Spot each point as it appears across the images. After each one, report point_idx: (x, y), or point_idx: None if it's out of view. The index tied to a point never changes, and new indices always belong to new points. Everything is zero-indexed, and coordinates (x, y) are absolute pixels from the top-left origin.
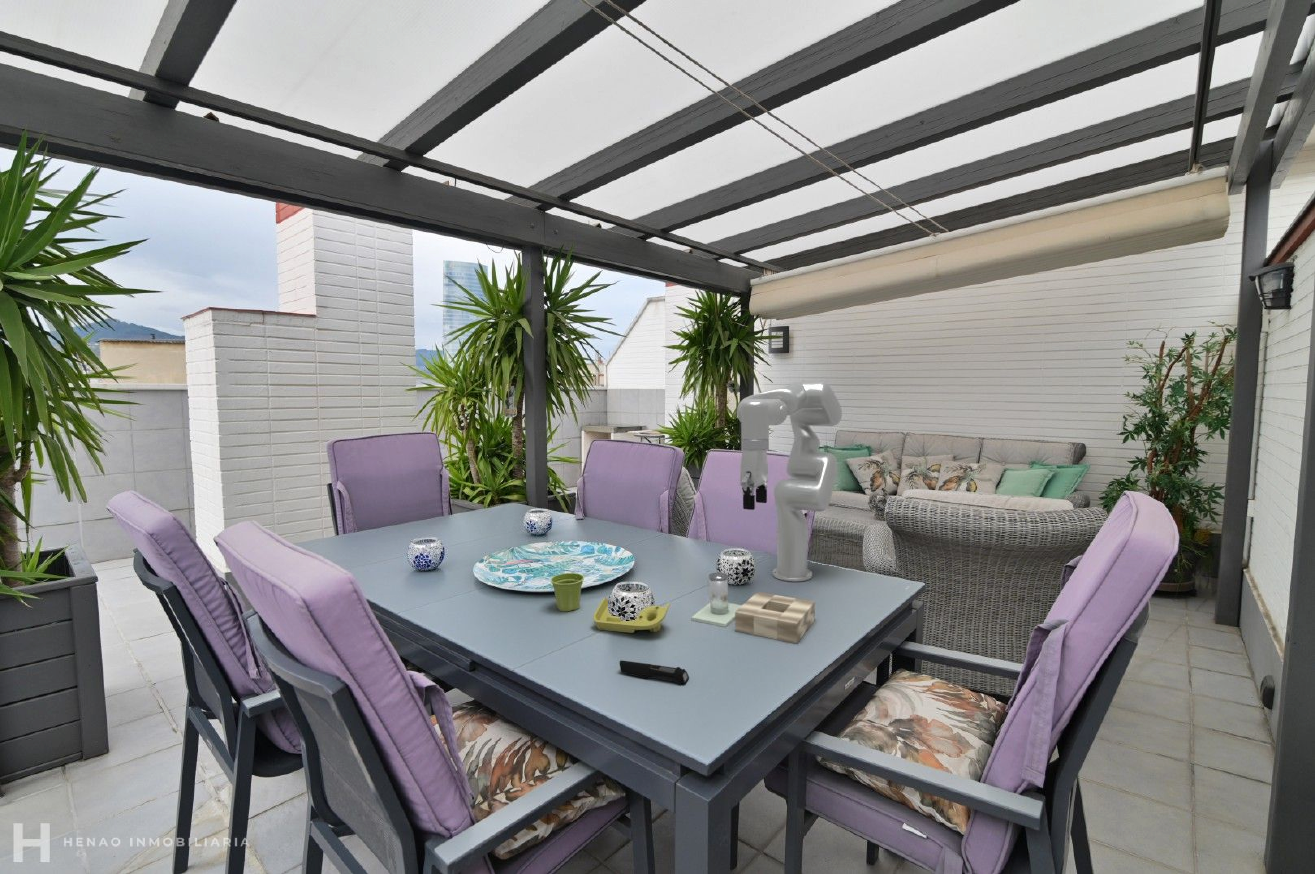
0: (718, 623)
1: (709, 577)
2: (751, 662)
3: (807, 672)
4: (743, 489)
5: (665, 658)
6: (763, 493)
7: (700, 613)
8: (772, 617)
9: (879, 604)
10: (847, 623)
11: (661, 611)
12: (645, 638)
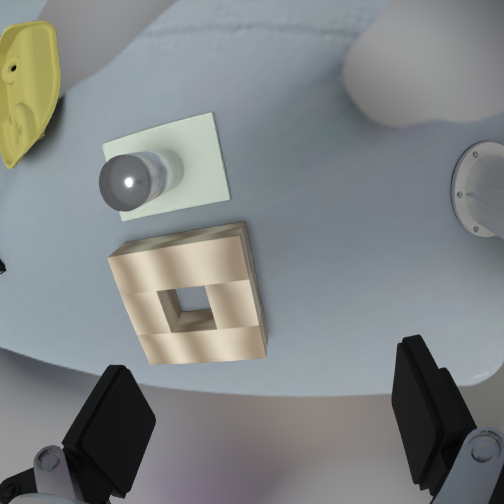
0: None
1: (103, 168)
2: (74, 313)
3: None
4: (9, 487)
5: (7, 215)
6: (410, 450)
7: (127, 144)
8: (139, 325)
9: None
10: (287, 374)
11: (20, 146)
12: None
